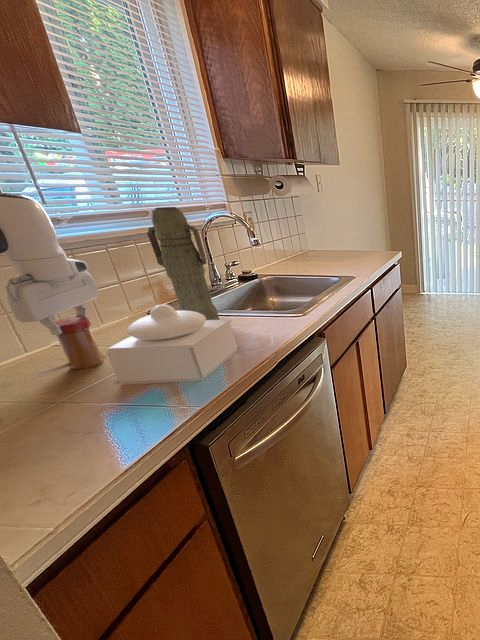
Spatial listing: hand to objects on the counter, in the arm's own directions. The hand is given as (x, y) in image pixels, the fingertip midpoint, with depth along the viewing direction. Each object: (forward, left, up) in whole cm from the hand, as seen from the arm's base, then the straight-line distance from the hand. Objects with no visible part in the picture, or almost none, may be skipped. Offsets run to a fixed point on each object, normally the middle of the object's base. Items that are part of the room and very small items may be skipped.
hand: (71, 328), depth 95 cm
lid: (0, 0, +1) cm, 1 cm away
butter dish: (+25, +7, -10) cm, 28 cm away
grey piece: (+7, +26, -10) cm, 29 cm away
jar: (0, 0, -10) cm, 10 cm away
